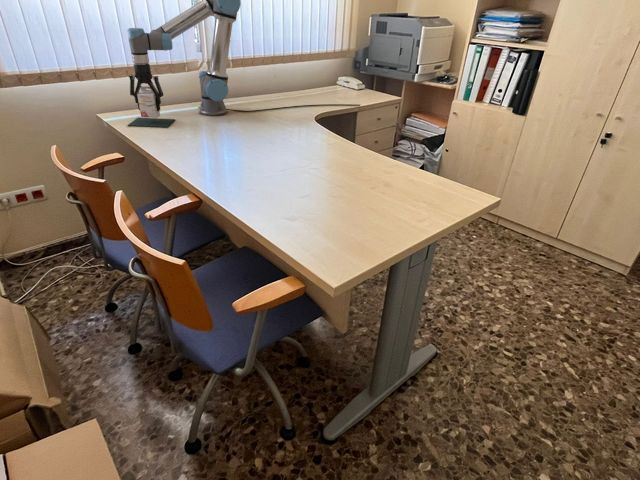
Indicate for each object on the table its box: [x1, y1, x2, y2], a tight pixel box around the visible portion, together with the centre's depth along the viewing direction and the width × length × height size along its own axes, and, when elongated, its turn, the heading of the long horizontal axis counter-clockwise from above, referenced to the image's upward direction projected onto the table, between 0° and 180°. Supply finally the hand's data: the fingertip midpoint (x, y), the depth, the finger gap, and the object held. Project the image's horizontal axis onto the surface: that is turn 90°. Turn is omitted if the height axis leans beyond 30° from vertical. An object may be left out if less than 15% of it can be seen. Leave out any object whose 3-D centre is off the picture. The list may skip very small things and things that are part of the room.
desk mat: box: [127, 117, 176, 129], centre depth 210 cm, size 20×14×1 cm
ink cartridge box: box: [137, 85, 161, 119], centre depth 205 cm, size 9×5×15 cm, turn 84°
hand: (149, 109), depth 207 cm, fingers closed on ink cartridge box, 9 cm apart
